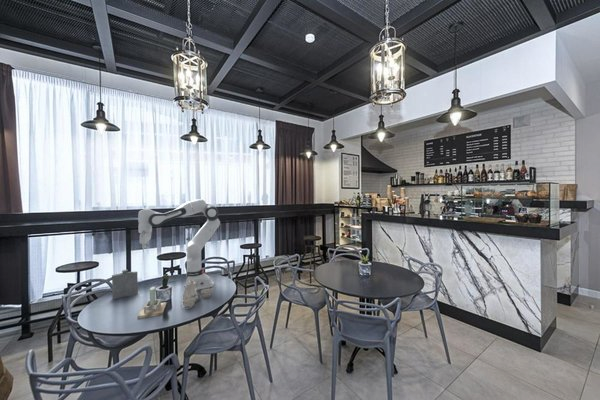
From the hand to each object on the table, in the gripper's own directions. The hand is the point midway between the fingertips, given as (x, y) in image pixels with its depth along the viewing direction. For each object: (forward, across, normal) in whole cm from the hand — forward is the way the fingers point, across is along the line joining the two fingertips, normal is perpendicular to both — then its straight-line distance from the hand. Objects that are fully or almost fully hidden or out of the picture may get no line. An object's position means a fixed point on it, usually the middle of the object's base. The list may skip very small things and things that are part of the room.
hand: (145, 247), depth 188 cm
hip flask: (+37, +4, +15) cm, 40 cm away
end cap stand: (+37, -32, -10) cm, 50 cm away
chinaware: (+38, -27, -36) cm, 58 cm away
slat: (+36, -32, -10) cm, 49 cm away
